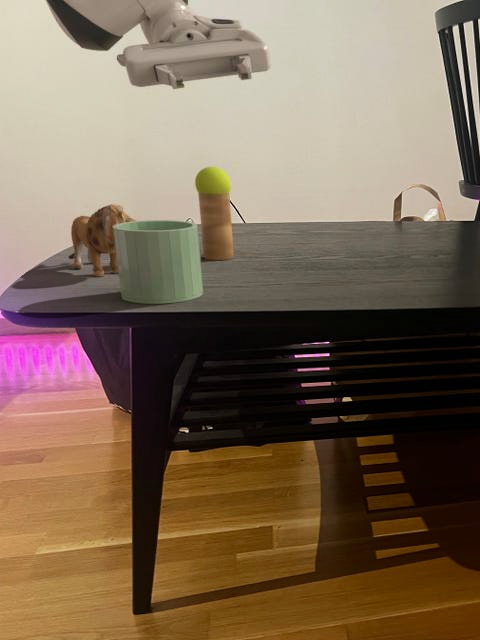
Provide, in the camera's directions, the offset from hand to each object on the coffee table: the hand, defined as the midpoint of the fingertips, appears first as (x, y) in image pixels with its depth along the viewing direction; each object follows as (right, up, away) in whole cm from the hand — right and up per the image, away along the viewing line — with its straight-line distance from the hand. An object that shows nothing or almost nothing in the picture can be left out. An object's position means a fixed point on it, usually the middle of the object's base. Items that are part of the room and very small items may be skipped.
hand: (212, 78), depth 98 cm
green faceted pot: (+1, -32, -17) cm, 36 cm away
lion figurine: (-12, -28, -6) cm, 31 cm away
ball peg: (-1, -24, +5) cm, 25 cm away
